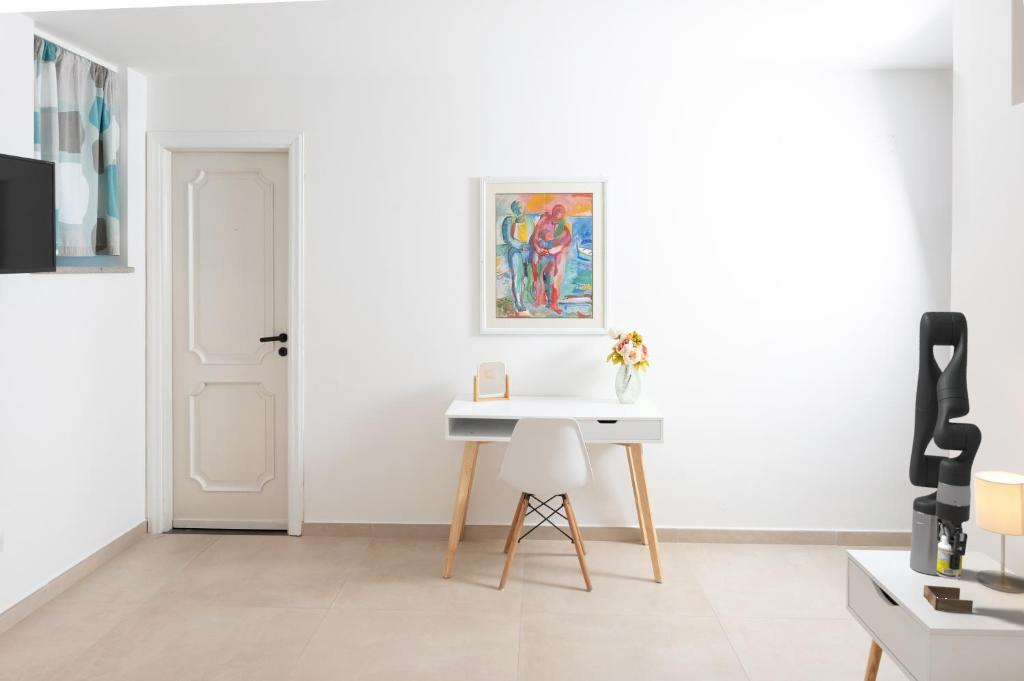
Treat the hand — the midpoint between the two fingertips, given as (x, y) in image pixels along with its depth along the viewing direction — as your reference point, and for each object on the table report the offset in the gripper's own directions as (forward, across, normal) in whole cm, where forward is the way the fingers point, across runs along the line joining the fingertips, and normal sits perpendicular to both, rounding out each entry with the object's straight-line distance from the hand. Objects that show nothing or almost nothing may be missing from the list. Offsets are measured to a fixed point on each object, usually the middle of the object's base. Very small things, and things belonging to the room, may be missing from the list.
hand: (949, 564), depth 201 cm
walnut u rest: (+11, 0, 0) cm, 11 cm away
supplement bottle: (+3, 0, 0) cm, 3 cm away
